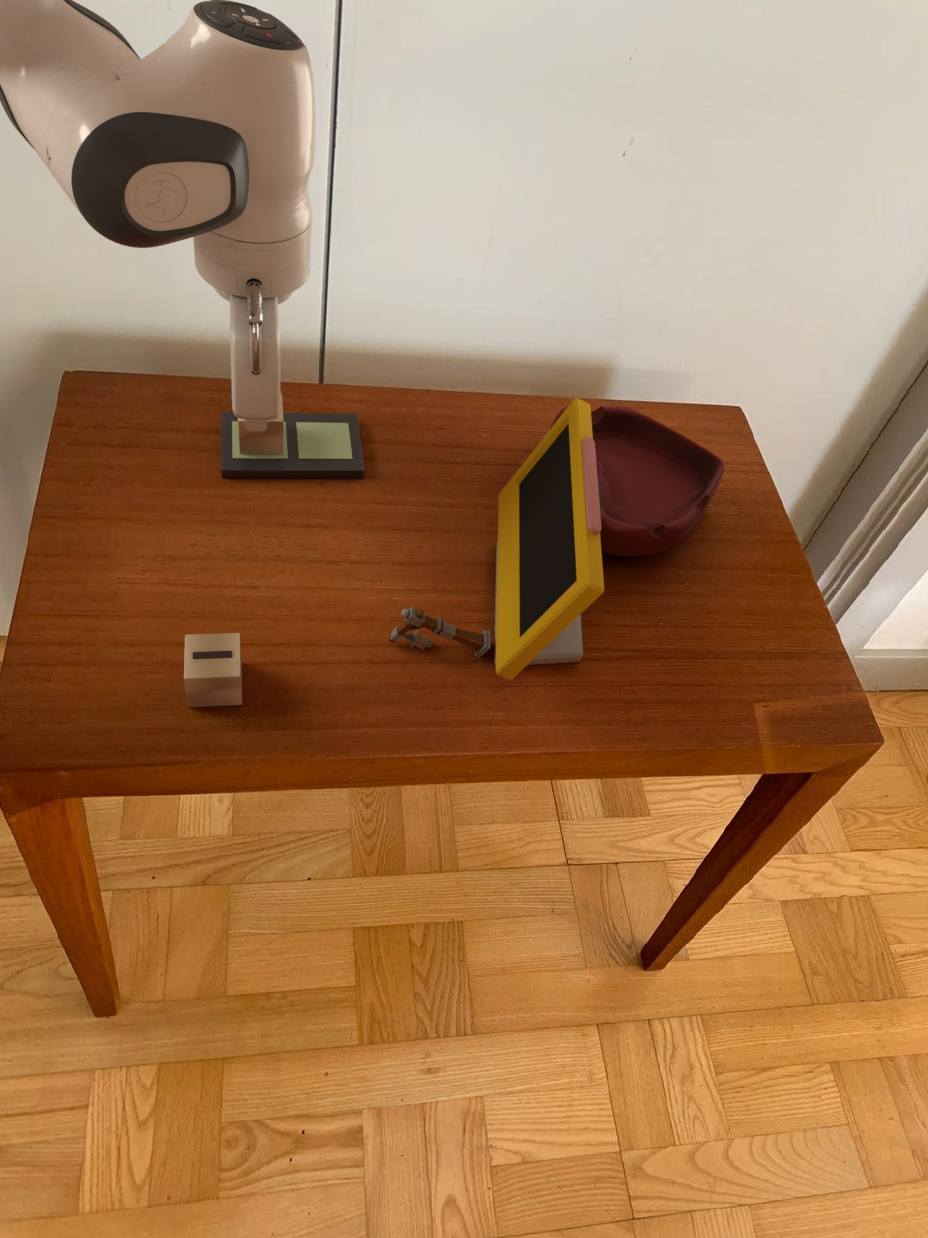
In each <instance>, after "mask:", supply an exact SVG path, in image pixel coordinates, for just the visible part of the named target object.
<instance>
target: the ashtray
mask: <svg viewBox="0 0 928 1238" xmlns="http://www.w3.org/2000/svg"><path fill="white" fill-rule="evenodd" d="M567 407H568V406H565V407H563V408H562V409H560V410H559V412H558V413H557V414H556V416H555V418H554V419H553V422H552V423H551V424H550V427H549V430H550V429H551V428H552V426H553V425H554V424H555V423H556V421H557V420H558V419H559V418H560V416H561V415H562V414H563V413H564V411H565V410H566V409H567ZM591 421H592V434H593V440H594V442H595V451H596V464H597V477H598V490H599V503H600V515H601V532H600V540H601V553H602V556H603V555H604V556H608V557H643V556H654V555H657V554H661V553H664V552H666V551H668V550H670V549H671V548H674V547H675V546H676V545H678V544H679V543H680V542H682V541H683V540H684V539H685V538H686V537H687V536H688V534H689V533H690V532H691V531H692V529H693V528H694V526H695V525H696V523H697V522H698V521H699V519H700V518H701V517H702V515H703V514H704V512H705V511H706V509H708V506H709V505H710V503H711V501H712V499H713V497H714V496H715V494H716V492H717V490H718V487H719V486H720V483H721V481H722V478H723V475H724V472H725V462H724V460H722V459H721V457H719V456H718V455H716V453H713V452H712V451H710V450H709V449H707V448H706V447H704V446H702V445H701V444H699V443H697V442H696V441H694V440H692V439H690V438H689V437H687V436H685V435H683V434H681V433H679V432H678V431H676V430H675V429H673V428H670V427H668V425H665V424H664V423H662V422H659V421H658V420H656V419H654V418H652V417H650V416H649V415H646V414H645V413H644V412H641V411H640V410H638V409H635V408H633V407H630V406H627V405H601V406H599V407H597V408H596V409H595V410H591Z"/></svg>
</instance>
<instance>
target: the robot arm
mask: <svg viewBox="0 0 928 1238" xmlns="http://www.w3.org/2000/svg"><path fill="white" fill-rule="evenodd" d="M312 66H313V65H312V61H311V57H310V53H309V50H308V48H307V46H306V45H305V44H304V42H303V40H302V39H301V38H300V37H299V36H298V35H297V34H296V33H295V32H294V31H293V30H292V29H291V28H290V27H289V26H288V25H286V24H285V22H283V21H281V20H280V19H279V18H277V17H276V16H274V15H273V14H271V13H268V12H266V11H263V10H262V9H258V8H257V7H256V6H254V5H253V6H252V5H249V4H246V3H242V2H238V1H233V0H203V1H200V2H198V3H196V4H195V5H194V6H192V8H191V10H190V11H189V14H188V16H187V18H186V20H185V21H184V23H182V25H181V26H180V28H178V29H177V31H175V33H173V34H172V35H171V36H170V37H168V39H167V40H166V41H164V43H162V44H161V45H160V46H158V47H157V48H156V49H154V50H153V51H151V52H150V53H148V54H147V55H145V56H144V57H142V58H140V56H139V55H138V53H137V52H136V50H135V49H134V48H133V46H132V44H131V43H130V42H129V41H128V40H127V38H126V37H125V36H124V35H123V33H121V32H120V31H119V29H117V28H116V26H114V25H113V24H112V23H110V22H109V21H108V20H106V19H105V18H104V17H102V16H101V15H99V14H97V13H96V12H94V11H93V10H90V9H89V8H87V7H86V6H84V5H82V4H80V3H79V2H76V1H75V0H0V104H1V106H2V108H3V110H4V112H5V114H6V116H7V117H8V119H9V121H10V122H11V124H12V125H13V127H14V128H15V130H16V131H17V132H18V133H19V135H21V137H22V138H23V139H24V140H25V141H26V142H27V144H29V146H30V147H31V148H32V150H34V151H35V152H36V154H37V155H38V157H39V158H40V160H41V161H42V162H43V164H44V165H45V167H46V168H47V169H48V171H49V172H50V173H51V175H52V177H54V179H55V180H56V182H57V183H58V185H59V186H60V187H61V189H62V190H63V192H64V193H65V194H66V196H67V197H68V199H69V200H70V202H71V203H72V205H74V207H75V208H76V210H77V211H78V212H79V213H80V215H81V216H82V218H83V219H84V220H85V221H86V223H87V224H88V225H89V226H90V227H91V228H92V229H93V230H94V231H96V232H97V233H98V234H99V235H101V236H102V237H104V238H105V239H107V240H109V241H112V242H113V243H115V244H119V245H122V246H124V247H127V248H128V247H129V248H136V249H137V248H138V249H148V248H149V249H150V248H158V247H162V246H165V245H170V244H174V243H177V242H178V243H179V242H181V241H185V240H187V239H190V238H192V242H193V256H194V257H193V258H194V265H195V266H194V267H195V269H196V271H197V273H198V275H199V276H200V278H202V279H203V280H204V281H205V282H206V283H207V284H209V285H210V286H211V287H212V288H213V289H214V291H215V292H216V293H217V294H218V296H220V297H221V298H222V299H224V300H225V301H227V302H229V345H230V346H229V347H230V348H229V349H230V350H229V351H230V352H229V353H230V381H231V385H230V386H231V407H232V408H231V409H232V412H233V413H234V415H235V416H236V417H237V418H239V419H245V428H246V430H248V431H260V432H262V431H265V430H266V428H267V420H273V419H276V418H277V417H278V415H279V412H280V393H281V372H282V371H281V369H282V368H281V367H282V366H281V365H282V364H281V363H282V362H281V358H282V357H281V356H282V355H281V352H282V351H281V328H280V327H281V326H280V310H279V309H280V307H279V305H280V304H283V303H284V302H286V301H287V300H289V299H290V297H291V296H292V294H293V293H294V292H295V291H297V290H298V289H300V288H301V287H303V286H304V284H306V283H307V281H308V279H309V276H310V273H311V260H312V259H311V258H312V257H311V256H312V255H311V254H312V232H313V231H312V229H313V207H312V202H311V199H310V194H309V180H310V178H311V174H312V172H313V168H314V165H315V161H316V160H315V158H316V130H317V129H316V125H317V123H316V121H317V120H316V118H317V117H316V93H315V82H314V73H313V72H314V71H313V67H312Z"/></svg>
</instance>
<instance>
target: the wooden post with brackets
mask: <svg viewBox="0 0 928 1238" xmlns="http://www.w3.org/2000/svg"><path fill="white" fill-rule="evenodd" d="M400 616H401V617H402V618H404V621H403V622H402V623H401V624H400V625H399V626H398V625H397V626H396V627H394V629H393V630H392V632H390V634H389V635H388V642H389V643H392V644H395V643H396V642H398V641H400V640H401V639H402V638H405V639H406V642H408V641H409V642H410V647H411V648H413V646H415V647H417V648H418V649H421V651H423V650H424V649H425V648H431V646H432V645H433V642H432V641H431V640H430V639H429V635H428V634H427V635H424V634H422V633H421V634H420V633H419V629H421V630H422V629H426V630H428V631H431V634H433V635H434V636H436V635H437V637H441V638H443V639H445V640H448V641H451V640H453V641H455V642H457V643H459V644H461V645H463V646H464V647H467V648H468V649H470V650H472V651H474V657H476V658H477V659H479V658H481V657H482V656H483V655H484V654H485V653H486V652H487V651H488V650H490V649H491V635H490V633H491V631H490V629H489V630H487V629H484V630H483V631H482V632H474V631H469V630H465V629H461V628H458V627H456V624H452V623H450V622H447V621H445V620H442V618H439V617H438V618H437V619H436V618H433V617H432V616H429V615H426V612H425V610H423V609H421V608H418V609H417V608H416V607H414V606H411V607H410V608H403V609H402V610H401V612H400ZM411 631H414V633H411ZM408 632H409V633H408Z"/></svg>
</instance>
